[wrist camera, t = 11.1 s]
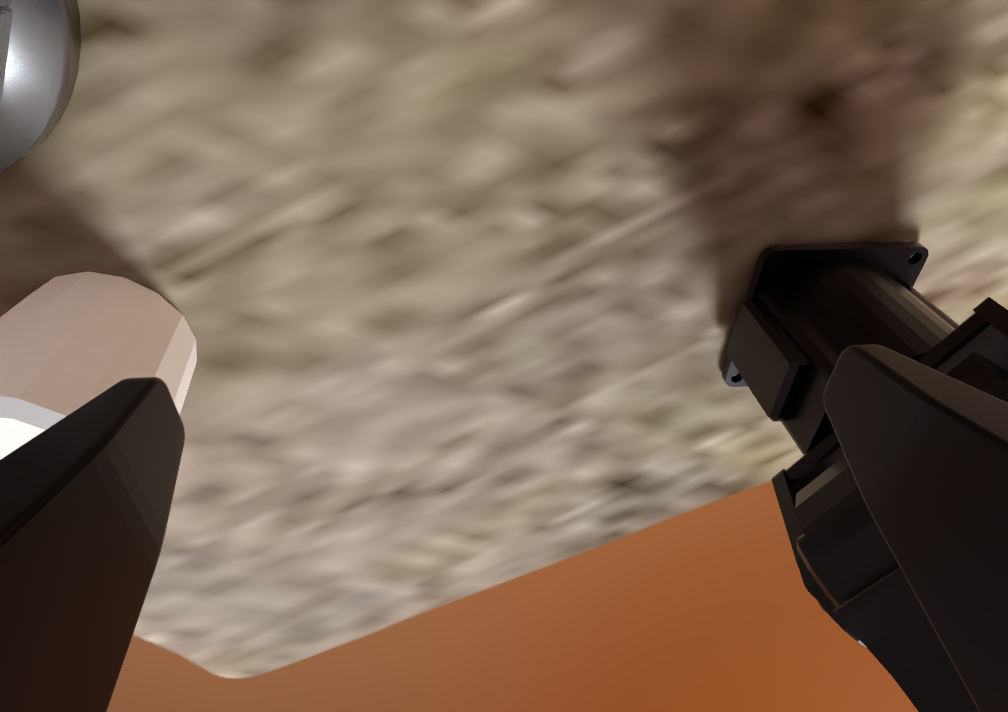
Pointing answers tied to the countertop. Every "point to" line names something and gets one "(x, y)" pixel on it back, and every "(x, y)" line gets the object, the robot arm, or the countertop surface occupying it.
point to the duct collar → (35, 71)
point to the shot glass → (85, 349)
